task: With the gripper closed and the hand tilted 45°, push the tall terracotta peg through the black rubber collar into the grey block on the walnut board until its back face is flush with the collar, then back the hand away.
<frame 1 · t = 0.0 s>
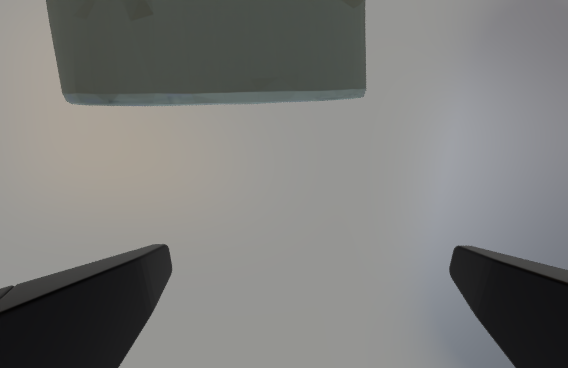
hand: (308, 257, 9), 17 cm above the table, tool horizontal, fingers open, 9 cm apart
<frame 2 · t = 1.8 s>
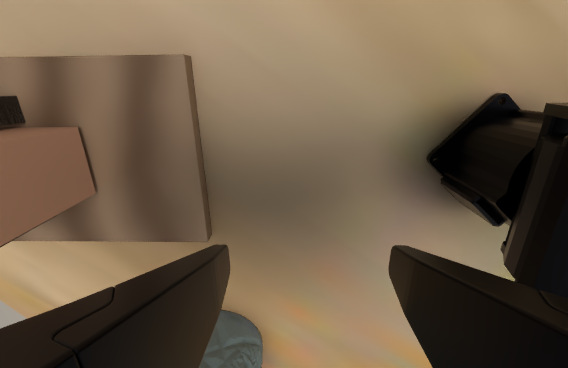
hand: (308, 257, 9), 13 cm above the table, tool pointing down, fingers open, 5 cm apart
grey embossed cylinder: (223, 338, 28), on the table
walnut board: (52, 156, 21), on the table
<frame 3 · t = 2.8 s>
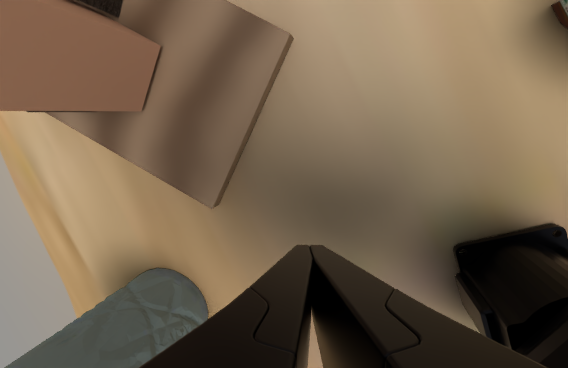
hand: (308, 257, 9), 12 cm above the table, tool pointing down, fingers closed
grey embossed cylinder: (173, 303, 27), on the table
walnut board: (122, 59, 21), on the table
grey block: (33, 23, 18), on the walnut board, point 4 cm above the table
terracotta peg: (36, 43, 15), point 7 cm above the table, slide at 4.0 cm
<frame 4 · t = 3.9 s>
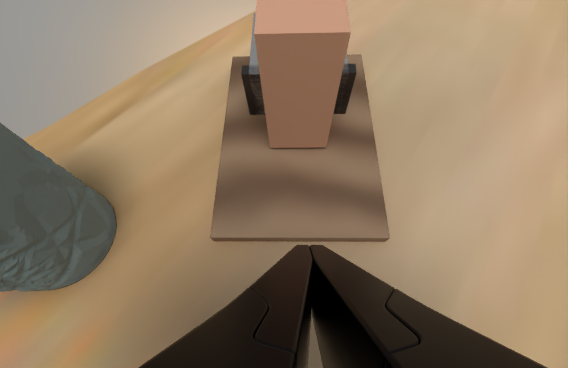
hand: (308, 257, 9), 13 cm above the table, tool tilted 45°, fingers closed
grey embossed cylinder: (69, 239, 23), on the table
walnut board: (297, 122, 27), on the table
grey block: (297, 64, 25), on the walnut board, point 4 cm above the table
terracotta peg: (298, 73, 20), point 7 cm above the table, slide at 4.0 cm
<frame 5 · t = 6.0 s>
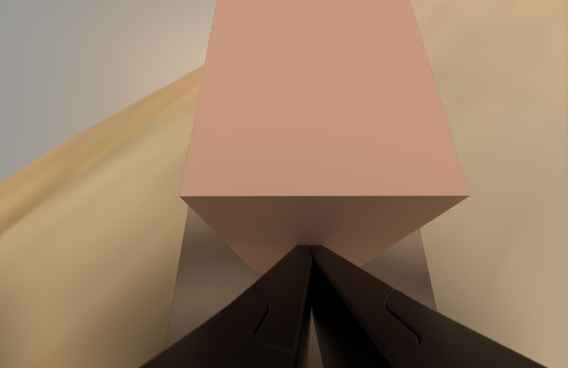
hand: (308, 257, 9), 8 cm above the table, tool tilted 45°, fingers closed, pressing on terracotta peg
walnut board: (300, 233, 17), on the table
terracotta peg: (304, 179, 11), point 7 cm above the table, slide at 2.7 cm, touching gripper
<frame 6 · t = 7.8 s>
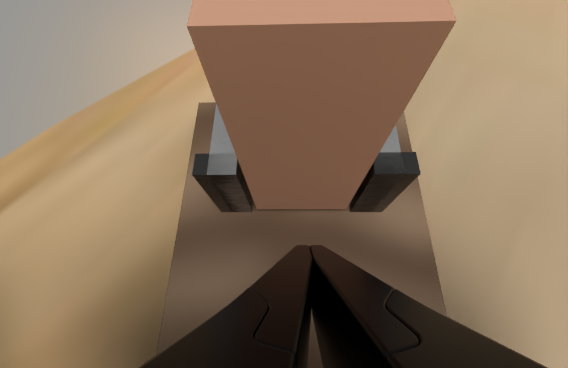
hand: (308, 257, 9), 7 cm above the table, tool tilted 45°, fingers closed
walnut board: (300, 218, 17), on the table
grey block: (301, 131, 15), on the walnut board, point 4 cm above the table
terracotta peg: (304, 99, 11), point 7 cm above the table, slide at 0.0 cm
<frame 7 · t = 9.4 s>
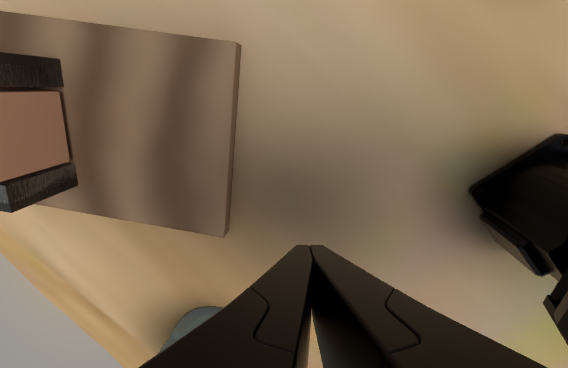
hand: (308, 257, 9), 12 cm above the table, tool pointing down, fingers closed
grey embossed cylinder: (220, 336, 27), on the table
walnut board: (83, 125, 21), on the table
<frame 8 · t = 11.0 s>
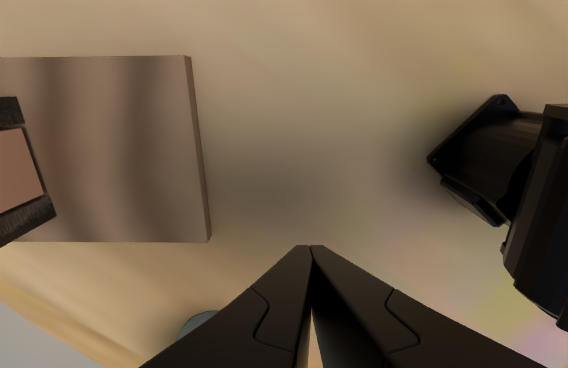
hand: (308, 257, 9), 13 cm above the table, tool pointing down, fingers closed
grey embossed cylinder: (223, 339, 28), on the table
walnut board: (51, 156, 21), on the table
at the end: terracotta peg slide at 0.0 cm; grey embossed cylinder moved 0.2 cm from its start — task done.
